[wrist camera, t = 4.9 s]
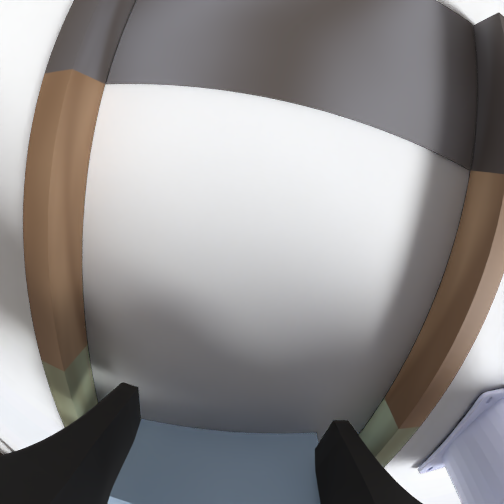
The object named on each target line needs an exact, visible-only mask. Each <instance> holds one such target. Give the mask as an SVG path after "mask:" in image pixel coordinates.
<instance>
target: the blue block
mask: <svg viewBox="0 0 504 504" xmlns="http://www.w3.org/2000/svg"><path fill="white" fill-rule="evenodd" d="M318 444H319V443H318V438H317V432H314V433H243V432H228V431H217V430H207V429H199V428H191V427H184V426H178V425H172V424H166V423H161V422H155V421H150V420H146V419H141V421H140V425H139V428H138V431H137V434H136V437H135V440H134V443H133V445H132V447H131V449H130V451H129V453H128V455H127V458H126V460H125V462H124V464H123V466H122V468H121V470H120V472H119V474H118V477H117V479H116V481H115V483H114V485H113V488H112V491H111V493H110V497H109V500H108V504H320V498H319V492H318V485H317V479H316V473H315V448H316V447H317V445H318Z"/></svg>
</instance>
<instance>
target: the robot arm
mask: <svg viewBox="0 0 504 504" xmlns="http://www.w3.org/2000/svg"><path fill="white" fill-rule="evenodd" d="M140 421H141V416H140V405H139V391H138V387H136V386H132V385H129V384H126V383H121V384H119V385H118V386H117V387H116V388H115V389H114V390H113V391H112V392H111V393H110V394H108V395H107V396H106V397H105V398H104V399H103V400H101V401H100V402H99V403H98V404H97V405H95V406H94V407H93V408H92V409H90V410H89V411H88V412H86V413H85V414H84V415H83V416H81V417H80V418H78V419H77V420H76V421H74V422H73V423H71V424H70V425H68V426H67V427H65V428H64V429H62V430H60V431H59V432H57V433H55V434H54V435H52V436H50V437H48V438H46V439H44V440H42V441H40V442H38V443H36V444H33V445H31V446H29V447H26V448H24V449H21V450H18V451H15V452H11V453H8V454H4V455H1V456H0V504H107V503H108V500H109V497H110V493H111V491H112V488H113V485H114V483H115V481H116V479H117V477H118V474H119V472H120V470H121V468H122V466H123V464H124V462H125V460H126V458H127V455H128V453H129V451H130V449H131V447H132V445H133V443H134V440H135V437H136V434H137V431H138V428H139V425H140ZM443 467H445V468H446V470H447V472H448V474H449V476H450V478H451V481H452V483H453V485H454V487H455V489H456V492H457V494H458V496H459V499H460V501H461V503H462V504H504V388H503V389H498V390H493V391H488V392H484V393H483V394H482V395H481V396H480V397H479V398H478V399H477V401H476V402H475V403H474V405H473V406H472V408H471V409H470V410H469V412H468V413H467V414H466V416H465V417H464V418H463V419H462V421H461V422H460V423H459V424H458V426H457V427H456V428H455V429H454V431H453V432H452V433H451V434H450V435H449V436H448V438H447V439H446V440H445V441H444V442H443V443H442V444H441V446H440V447H439V448H438V449H437V450H436V451H435V452H434V453H433V454H432V455H431V456H430V457H429V458H428V459H427V460H426V461H425V462H424V463H423V464H422V465H421V466H420V467H419V468H418V471H419V473H425V472H429V471H432V470H436V469H439V468H443ZM315 473H316V479H317V485H318V492H319V498H320V504H422V503H421V502H419V501H418V500H417V499H415V498H414V497H413V496H412V495H410V494H409V493H408V492H407V491H406V490H405V489H404V488H402V487H401V486H400V485H399V484H398V483H397V482H396V481H395V480H394V479H393V478H392V477H391V475H390V474H389V473H388V472H387V471H386V470H385V469H384V468H383V466H382V465H381V464H380V463H379V462H378V460H377V459H376V458H375V457H374V455H373V454H372V453H371V451H370V450H369V449H368V448H367V446H366V445H365V443H364V442H363V441H362V439H361V438H360V437H359V435H358V434H357V432H356V431H355V430H354V428H353V427H352V425H351V424H350V423H349V421H345V420H333V422H332V423H331V425H330V427H329V428H328V430H327V431H326V433H325V434H324V436H323V438H322V439H321V441H320V442H319V444H318V445H317V447H316V448H315Z"/></svg>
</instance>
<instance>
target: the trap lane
mask: <svg viewBox="0 0 504 504" xmlns="http://www.w3.org/2000/svg"><path fill="white" fill-rule="evenodd" d="M135 1H136V3H135ZM134 3H135V5H134ZM133 5H134V7H133ZM132 8H133V9H132ZM131 10H132V12H131ZM130 12H131V14H130ZM129 14H130V16H129ZM128 17H129V19H128ZM127 19H128V21H127ZM126 22H127V23H126ZM125 24H126V26H125ZM124 27H125V28H124ZM123 29H124V31H123ZM473 31H474V32H473ZM122 32H123V34H122ZM121 34H122V36H121ZM120 37H121V39H120ZM474 39H475V41H474ZM119 40H120V42H119ZM118 42H119V44H118ZM117 45H118V47H117ZM116 48H117V50H116ZM475 50H476V52H475ZM115 51H116V53H115ZM114 54H115V56H114ZM113 57H114V59H113ZM112 60H113V62H112ZM111 63H112V65H111ZM476 64H477V68H476ZM110 66H111V69H110ZM109 69H110V72H109ZM108 73H109V75H108ZM107 76H108V79H107ZM106 80H107V82H106ZM105 83H106V84H162V85H179V86H191V87H202V88H211V89H219V90H226V91H233V92H240V93H246V94H252V95H257V96H262V97H268V98H273V99H277V100H282V101H286V102H291V103H295V104H299V105H303V106H307V107H311V108H315V109H319V110H322V111H326V112H329V113H333V114H336V115H339V116H343V117H346V118H349V119H352V120H355V121H358V122H361V123H364V124H367V125H370V126H372V127H375V128H378V129H381V130H383V131H386V132H389V133H391V134H394V135H396V136H399V137H401V138H404V139H406V140H408V141H411V142H413V143H415V144H418V145H420V146H422V147H424V148H426V149H429V150H431V151H433V152H435V153H437V154H439V155H441V156H443V157H445V158H447V159H449V160H451V161H453V162H455V163H457V164H459V165H461V166H463V167H465V168H466V169H468V170H470V169H471V170H470V177H469V182H468V188H467V193H466V198H465V202H464V207H463V211H462V215H461V219H460V223H459V227H458V231H457V234H456V238H455V241H454V245H453V248H452V251H451V255H450V258H449V261H448V264H447V267H446V270H445V273H444V275H443V278H442V281H441V284H440V286H439V289H438V292H437V294H436V297H435V299H434V302H433V304H432V307H431V309H430V311H429V314H428V316H427V318H426V320H425V323H424V325H423V327H422V329H421V331H420V333H419V336H418V338H417V340H416V342H415V344H414V346H413V348H412V350H411V352H410V354H409V356H408V357H407V359H406V361H405V363H404V365H403V367H402V369H401V370H400V372H399V374H398V376H397V377H396V379H395V381H394V383H393V384H392V386H391V388H390V389H389V391H388V393H387V394H386V396H385V397H384V399H383V401H382V402H381V404H380V405H379V407H378V408H377V410H376V411H375V413H374V414H373V416H372V417H371V419H370V420H369V422H368V423H367V425H366V426H365V427H364V429H363V430H362V432H361V433H360V434H359V437H360V438H361V439H362V441H363V442H364V443H365V445H366V446H367V448H368V449H369V450H370V451H371V453H372V454H373V455H374V457H375V458H376V459H377V460H378V462H379V463H380V464H381V465H382V466H383V468H384V467H385V466H386V465H387V464H388V463H389V462H390V461H391V459H392V458H393V457H394V456H395V455H396V454H397V453H398V452H399V451H400V450H401V449H402V447H403V446H404V445H405V444H406V443H407V442H408V441H409V439H410V438H411V437H412V436H413V435H414V433H415V432H416V431H417V430H418V428H419V427H420V426H421V425H422V423H423V422H424V421H425V419H426V418H427V417H428V415H429V414H430V413H431V411H432V410H433V409H434V407H435V406H436V404H437V403H438V402H439V400H440V399H441V397H442V396H443V394H444V393H445V391H446V390H447V388H448V387H449V385H450V384H451V382H452V380H453V379H454V377H455V376H456V374H457V372H458V371H459V369H460V367H461V365H462V364H463V362H464V360H465V358H466V357H467V355H468V353H469V351H470V349H471V347H472V346H473V344H474V342H475V340H476V338H477V336H478V334H479V332H480V330H481V327H482V325H483V323H484V321H485V319H486V317H487V314H488V312H489V310H490V307H491V305H492V303H493V300H494V298H495V295H496V292H497V290H498V287H499V284H500V282H501V279H502V276H503V273H504V16H502V15H501V14H500V13H497V14H495V15H493V16H491V17H489V18H487V19H485V20H483V21H481V22H479V23H477V24H476V25H474V26H473V25H472V23H470V22H469V21H467V20H466V19H464V18H463V17H461V16H460V15H458V14H457V13H455V12H454V11H452V10H451V9H449V8H448V7H446V6H444V5H443V4H441V3H439V2H438V1H436V0H74V2H73V4H72V6H71V8H70V10H69V12H68V14H67V16H66V19H65V21H64V23H63V25H62V28H61V30H60V32H59V35H58V37H57V40H56V42H55V45H54V48H53V50H52V53H51V56H50V59H49V62H48V65H47V68H46V71H45V74H44V78H43V81H42V85H41V88H40V92H39V96H38V100H37V104H36V109H35V113H34V118H33V123H32V128H31V134H30V140H29V147H28V154H27V162H26V172H25V184H24V202H23V241H24V259H25V271H26V281H27V289H28V297H29V303H30V310H31V315H32V321H33V326H34V331H35V335H36V340H37V344H38V348H39V352H40V356H41V360H42V364H43V367H44V371H45V374H46V377H47V380H48V384H49V387H50V390H51V393H52V396H53V398H54V401H55V404H56V407H57V409H58V412H59V414H60V417H61V419H62V422H63V424H64V427H67V426H68V425H70V424H71V423H73V422H74V421H76V420H77V419H78V418H80V417H81V416H83V415H84V414H85V413H86V412H88V411H89V410H90V409H92V408H93V407H94V406H95V405H97V404H98V400H97V396H96V391H95V386H94V381H93V376H92V370H91V364H90V357H89V351H88V343H87V335H86V326H85V315H84V301H83V281H82V235H83V215H84V201H85V190H86V181H87V173H88V165H89V158H90V152H91V146H92V140H93V135H94V130H95V125H96V120H97V115H98V111H99V106H100V102H101V98H102V94H103V90H104V87H105ZM476 109H477V114H476ZM475 126H476V129H475ZM474 138H475V140H474ZM473 147H474V149H473ZM472 155H473V157H472ZM471 163H472V164H471ZM107 504H108V503H107Z"/></svg>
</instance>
